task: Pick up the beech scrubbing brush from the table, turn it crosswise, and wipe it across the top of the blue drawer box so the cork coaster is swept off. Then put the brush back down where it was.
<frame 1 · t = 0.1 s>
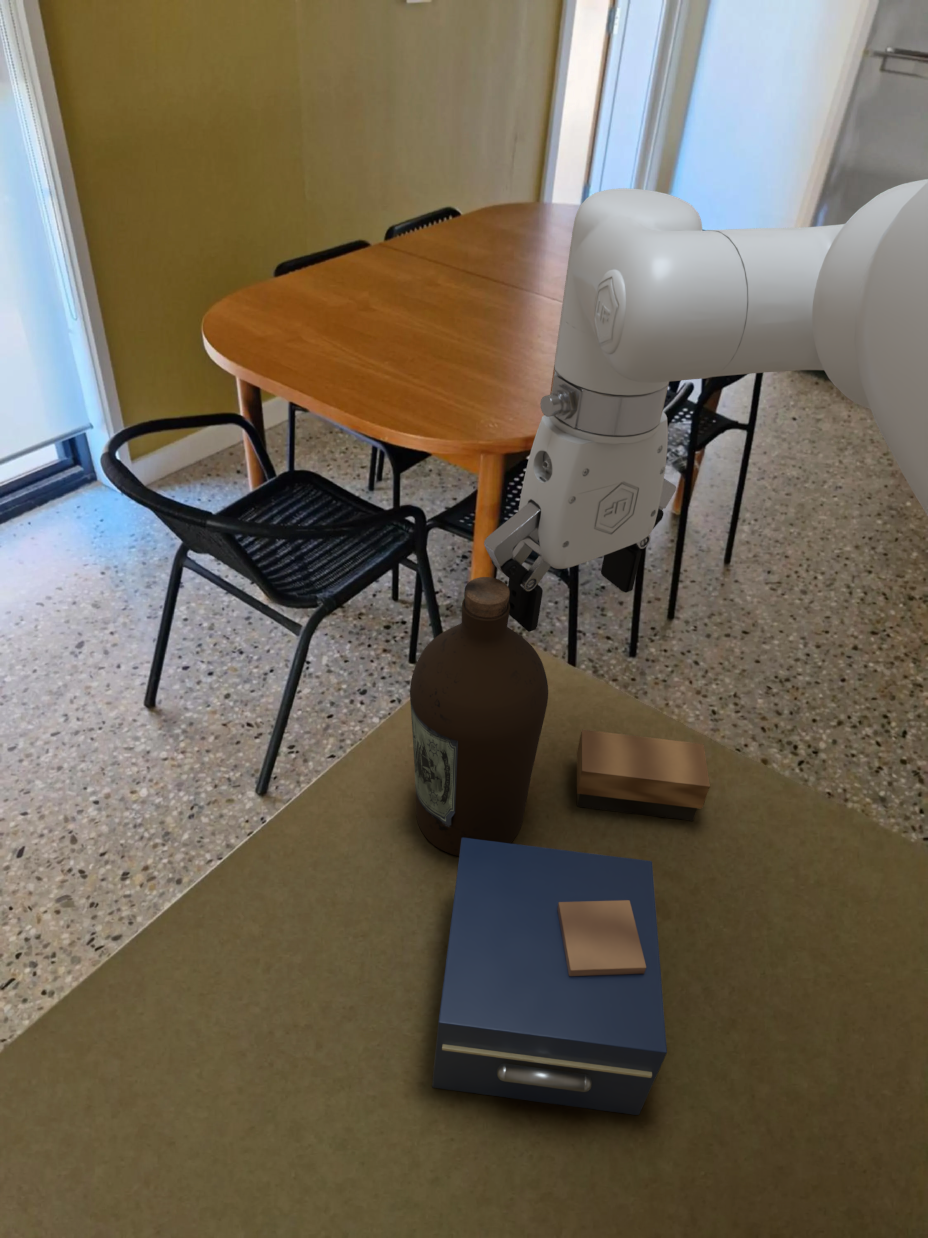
hand: (569, 601, 69), 20 cm above the counter, tool pointing down, fingers open, 9 cm apart
coaster: (599, 940, 59), point 9 cm above the counter, touching blue drawer box
olive oil: (468, 815, 78), on the counter, touching gripper
blue drawer box: (538, 1002, 65), on the counter
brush: (633, 794, 81), on the counter
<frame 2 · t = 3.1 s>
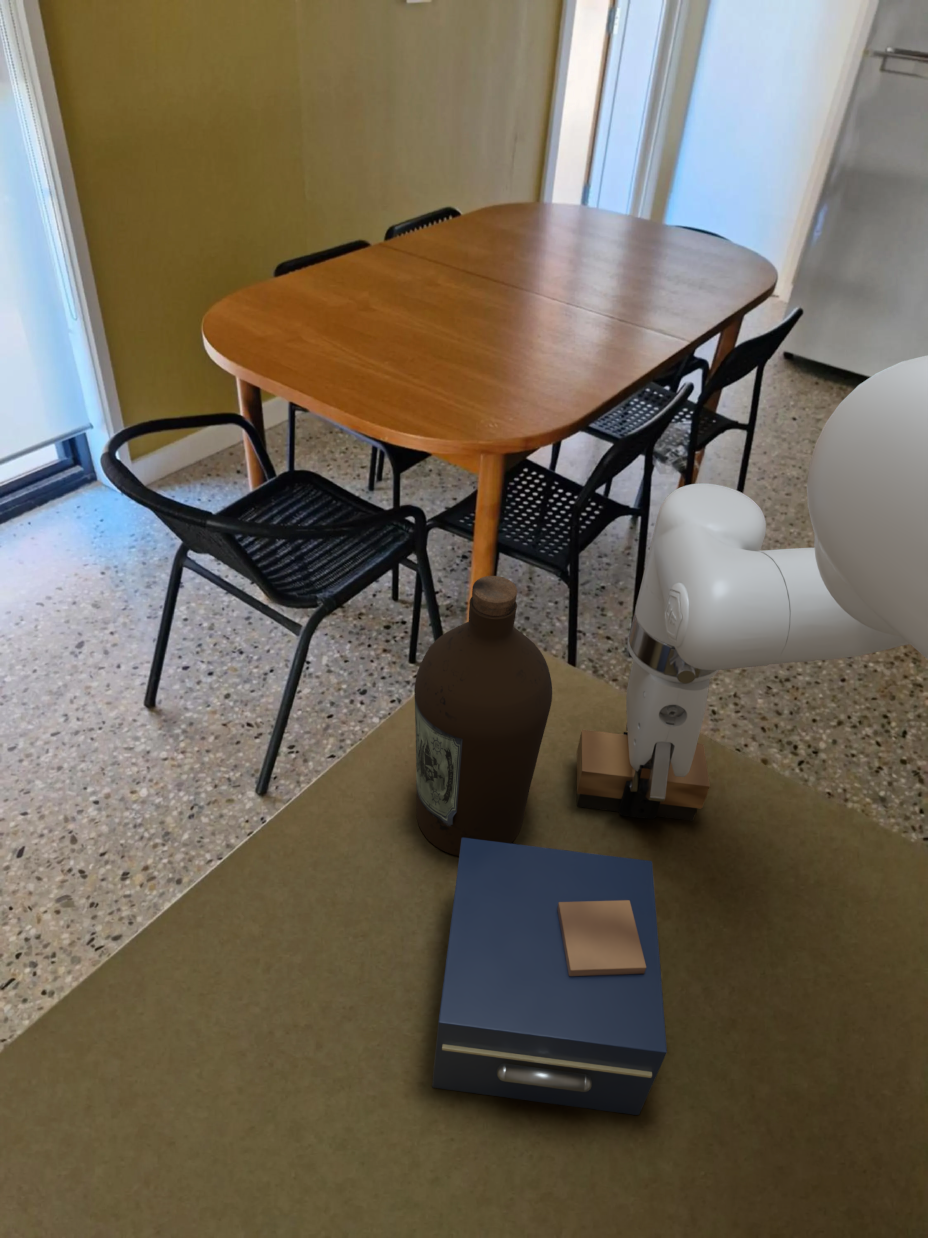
hand: (635, 788, 81), 1 cm above the counter, tool pointing down, fingers closed on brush, 5 cm apart
olive oil: (468, 815, 78), on the counter
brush: (633, 794, 81), on the counter, touching gripper
everything else where it was.
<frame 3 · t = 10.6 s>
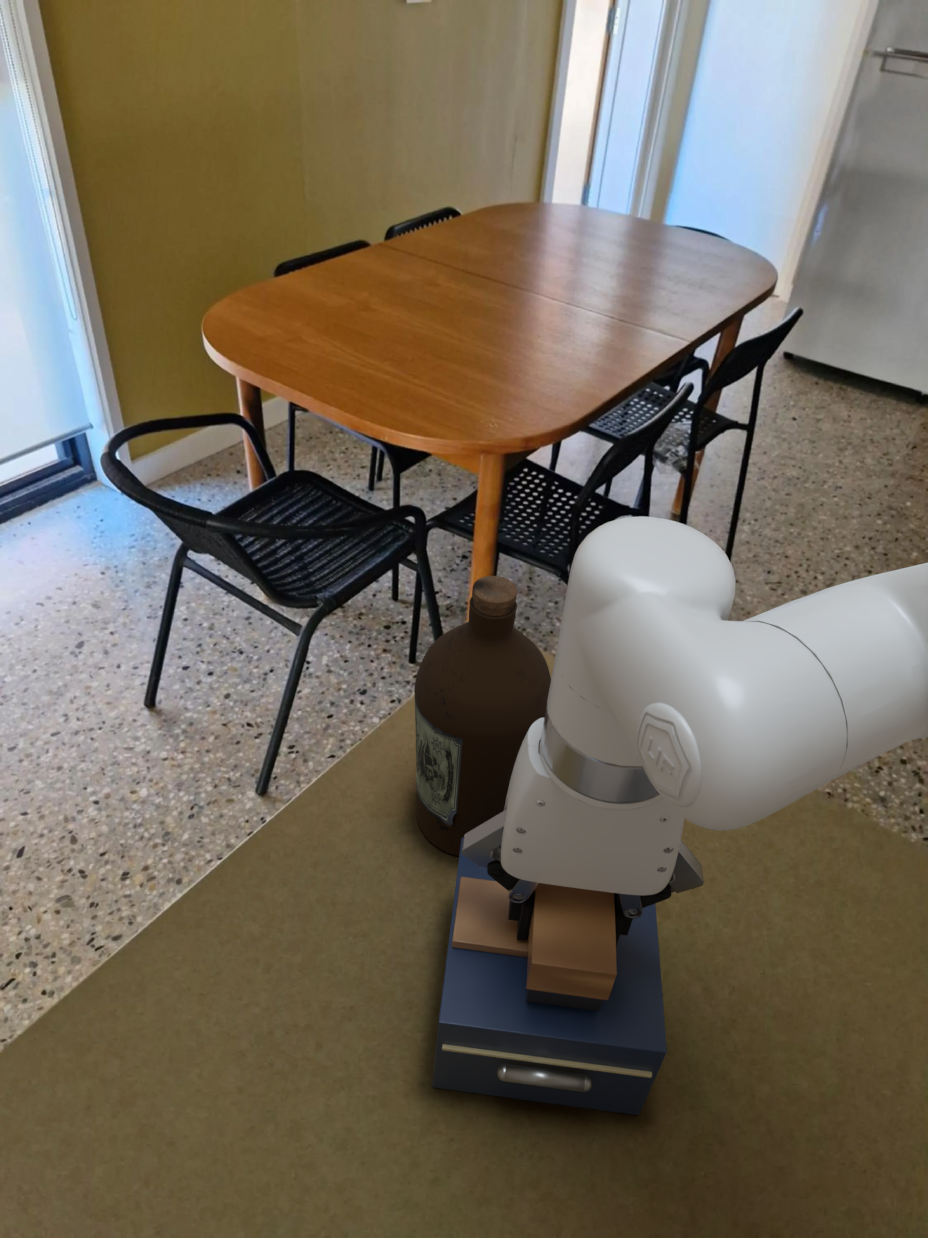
hand: (565, 925, 59), 10 cm above the counter, tool pointing down, fingers closed on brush, 5 cm apart
coaster: (492, 919, 60), point 9 cm above the counter
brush: (564, 932, 59), point 9 cm above the counter, touching gripper
everything else where it was.
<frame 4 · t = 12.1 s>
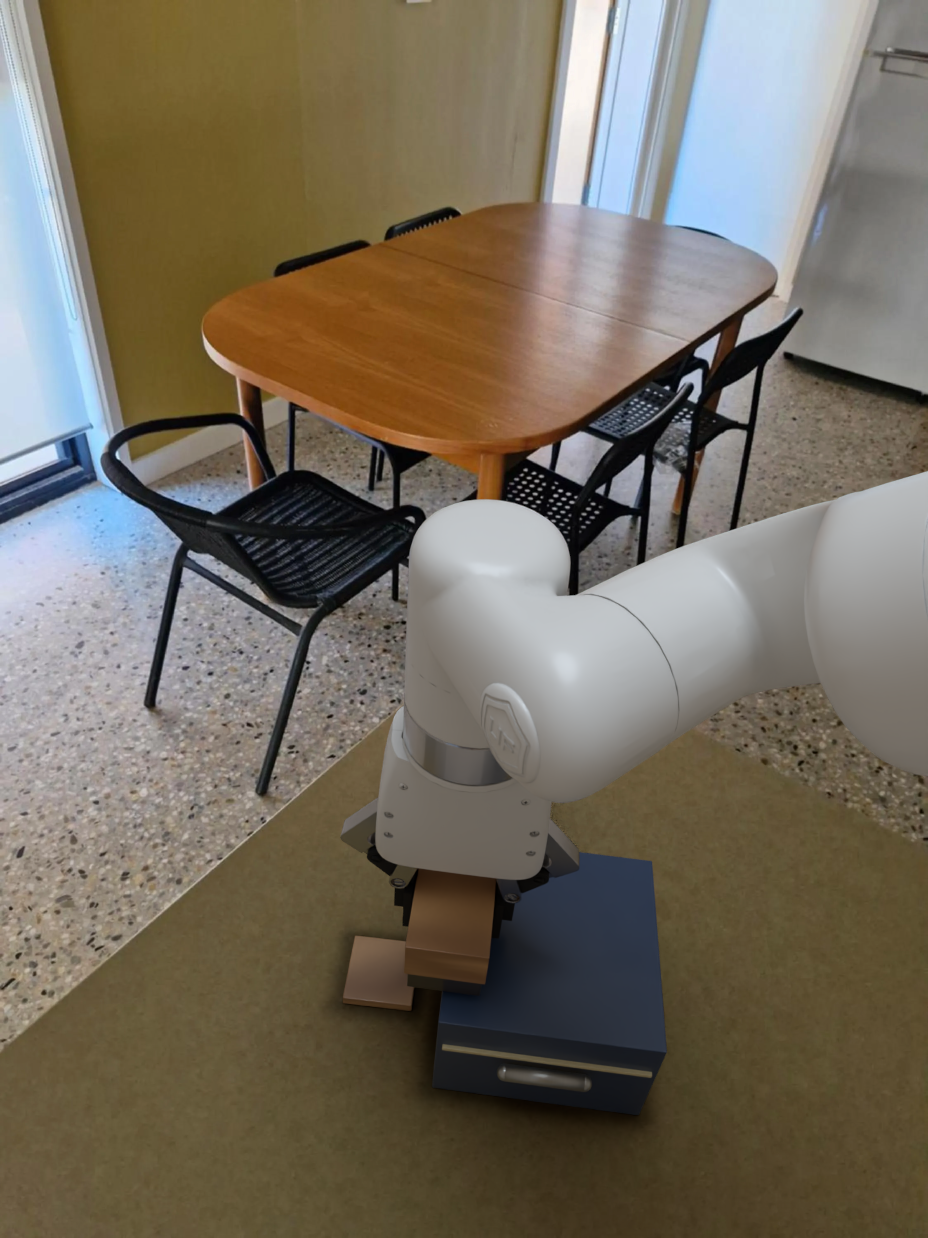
hand: (453, 911, 59), 10 cm above the counter, tool pointing down, fingers closed on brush, 5 cm apart
coaster: (382, 969, 65), point 1 cm above the counter, tilted 180°
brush: (452, 918, 59), point 9 cm above the counter, touching gripper
everything else where it was.
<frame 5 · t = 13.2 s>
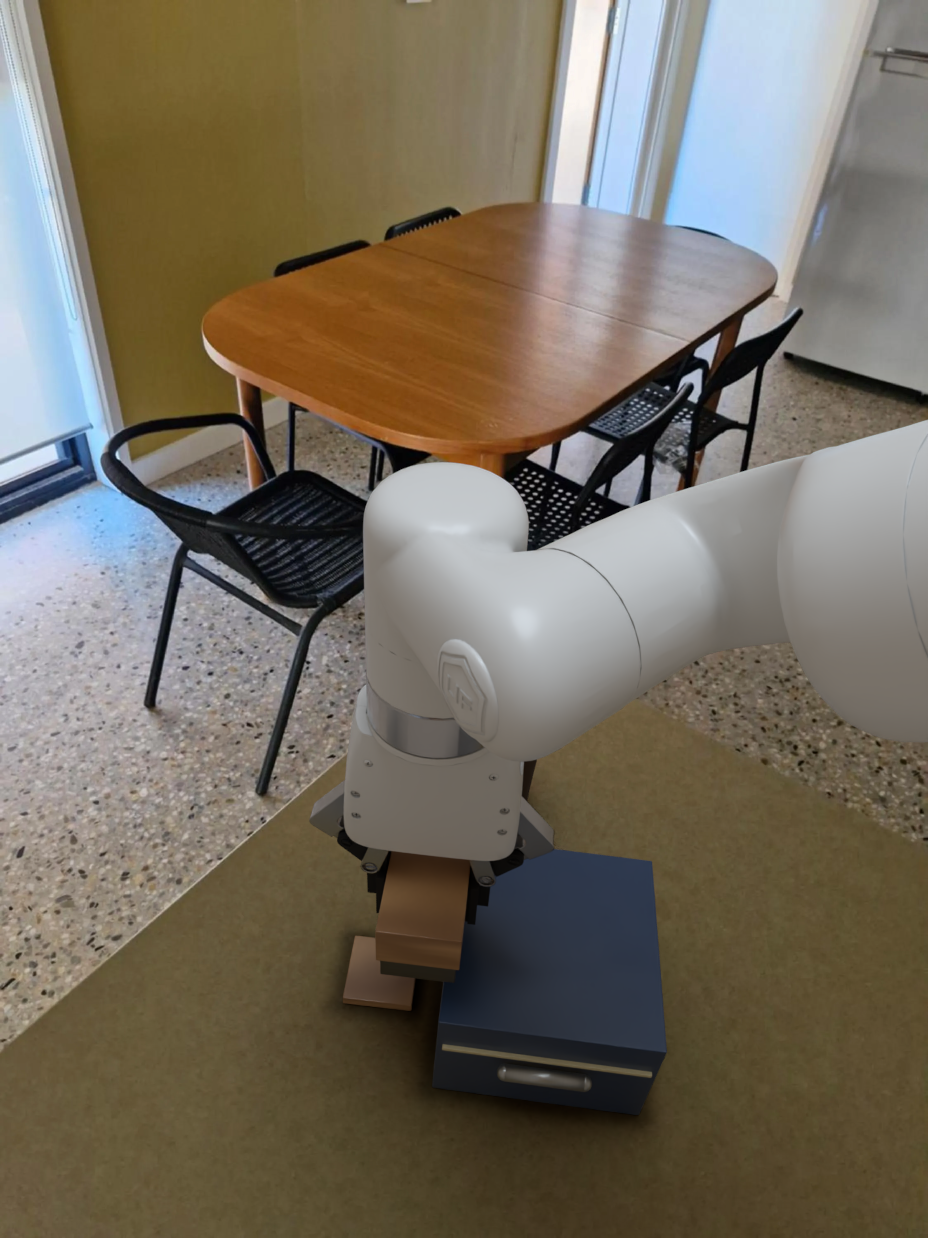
hand: (428, 898, 58), 12 cm above the counter, tool pointing down, fingers closed on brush, 5 cm apart
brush: (428, 905, 58), point 11 cm above the counter, touching gripper
everything else where it was.
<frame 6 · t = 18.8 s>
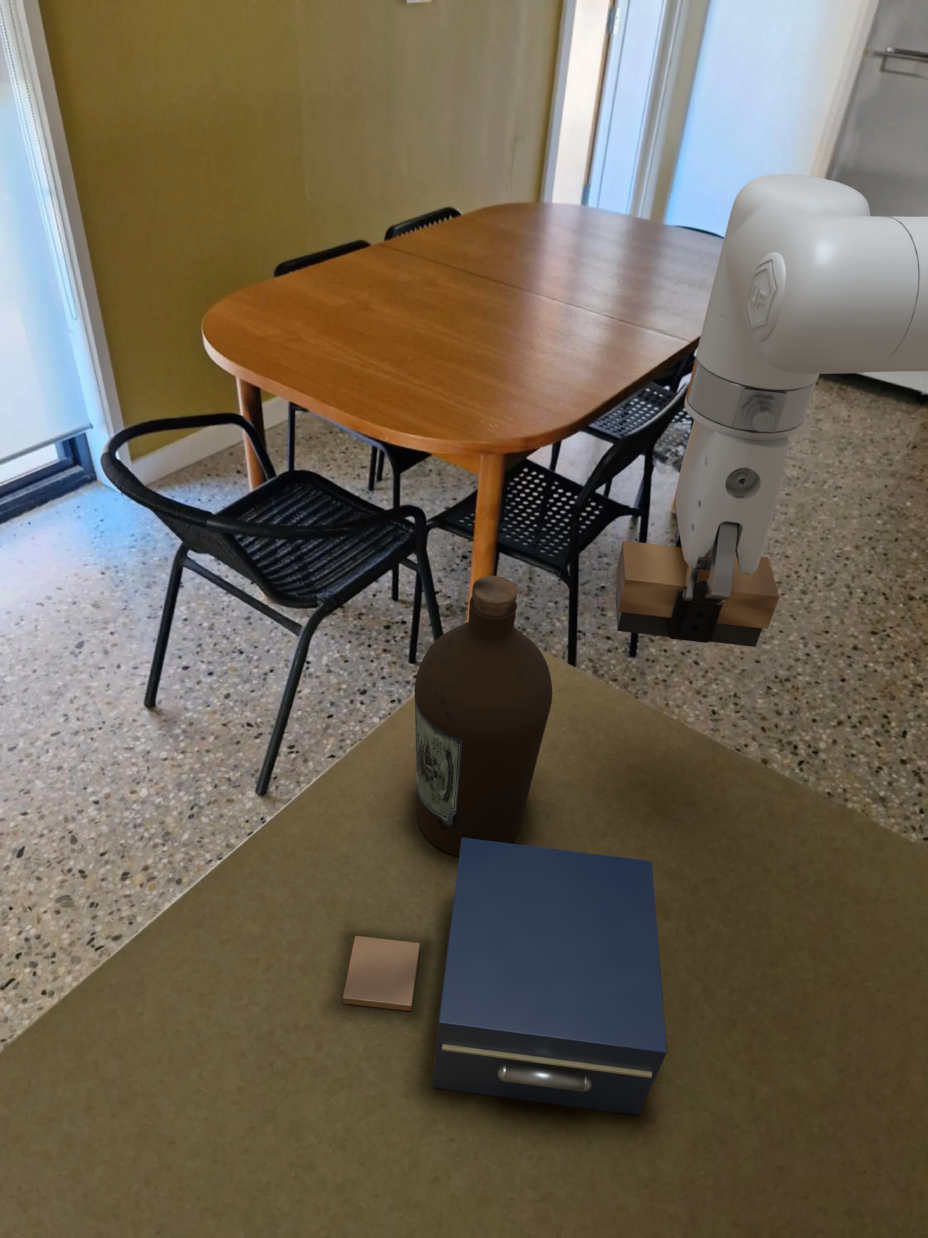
hand: (685, 612, 68), 21 cm above the counter, tool pointing down, fingers closed on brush, 5 cm apart
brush: (683, 620, 68), point 20 cm above the counter, touching gripper
everything else where it was.
when the fingers open (1 cm above the counter, at t = 23.5 s): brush stays where it is, on the counter.
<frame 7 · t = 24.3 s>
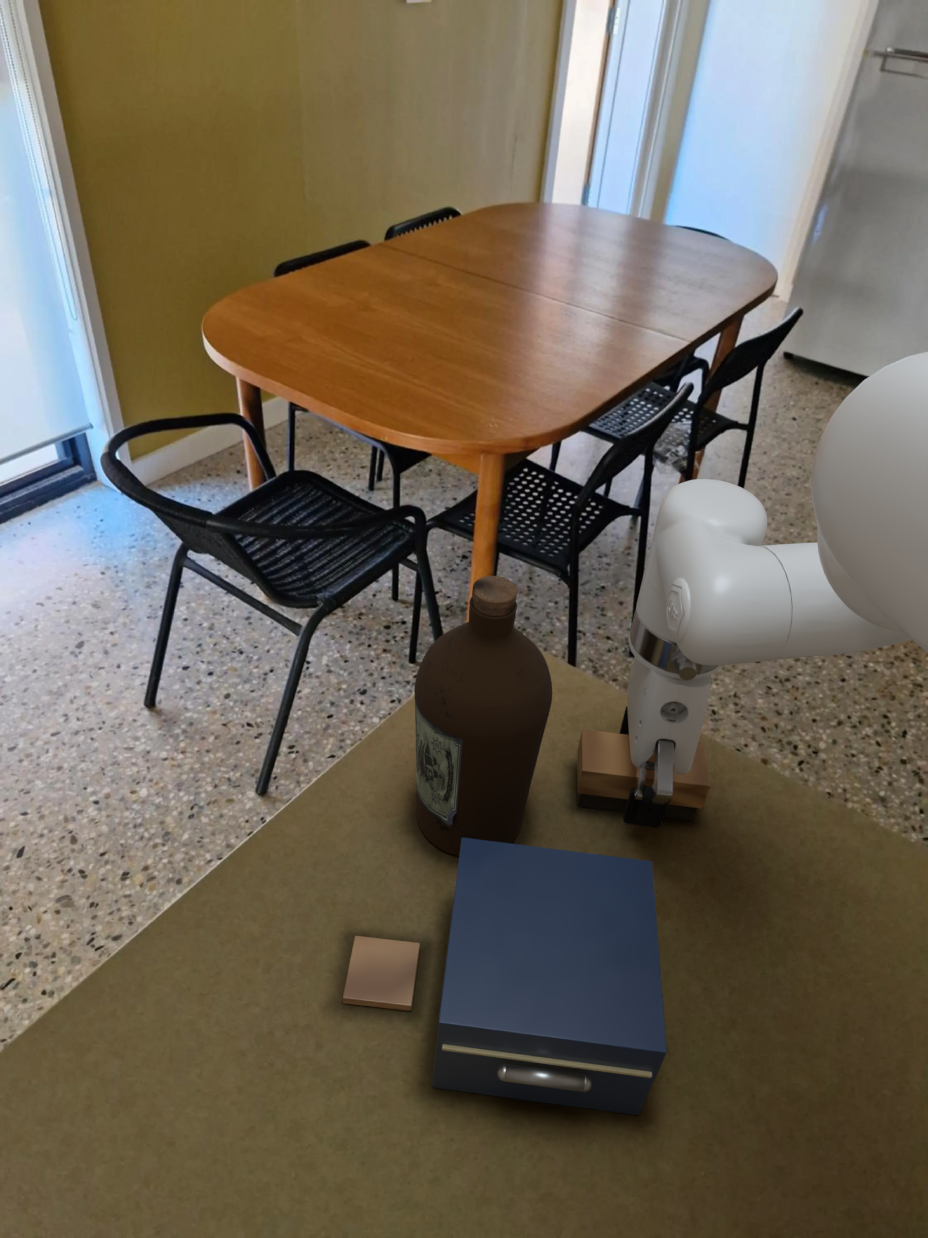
hand: (638, 780, 80), 2 cm above the counter, tool pointing down, fingers open, 9 cm apart
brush: (633, 793, 81), on the counter
everything else where it was.
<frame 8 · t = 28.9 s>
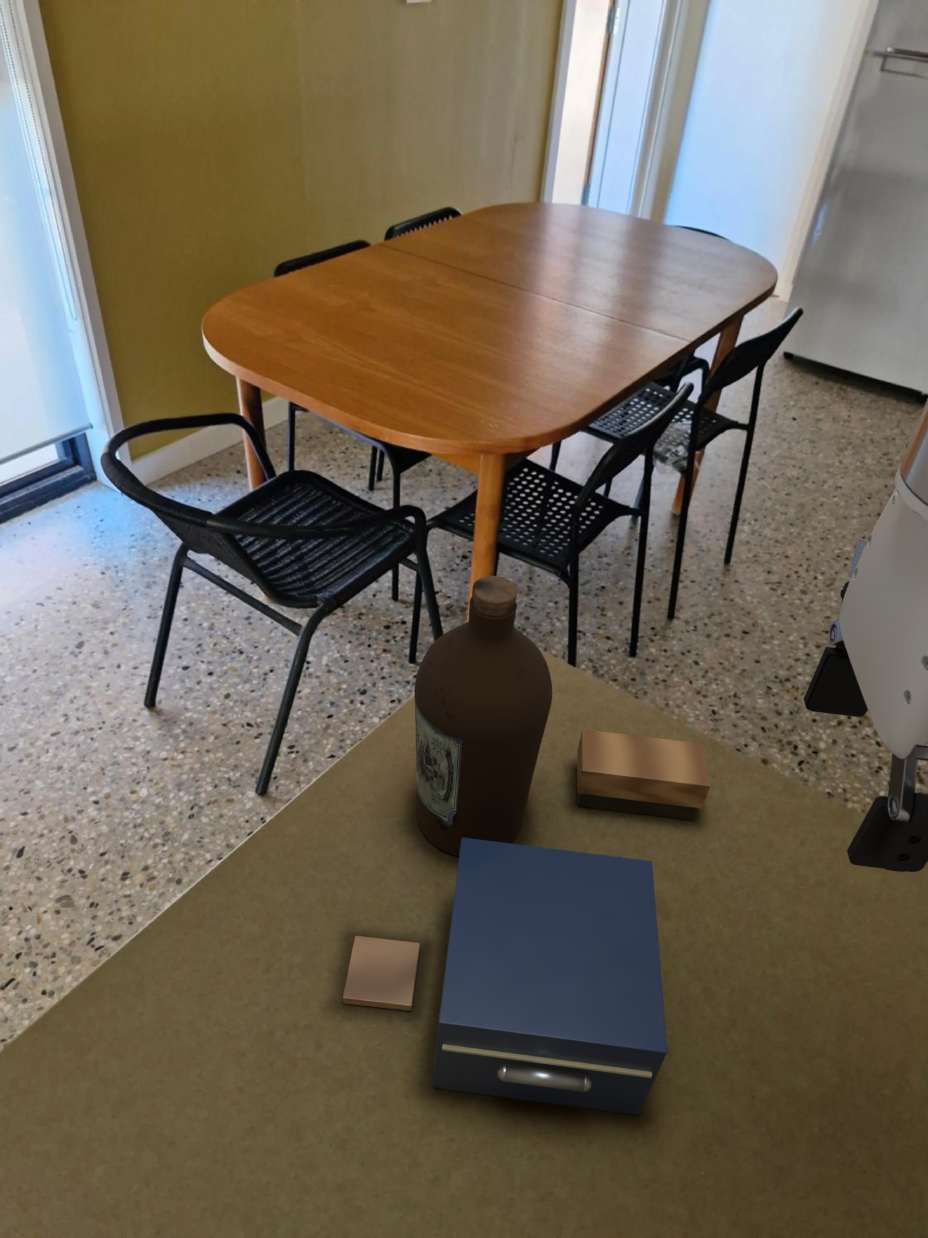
hand: (855, 780, 43), 30 cm above the counter, tool pointing down, fingers open, 9 cm apart
nothing on the counter moved.
at the end: coaster point 0.8 cm above the counter; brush inside the target area (0.0 cm from its centre), on the counter; the gripper is holding nothing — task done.
